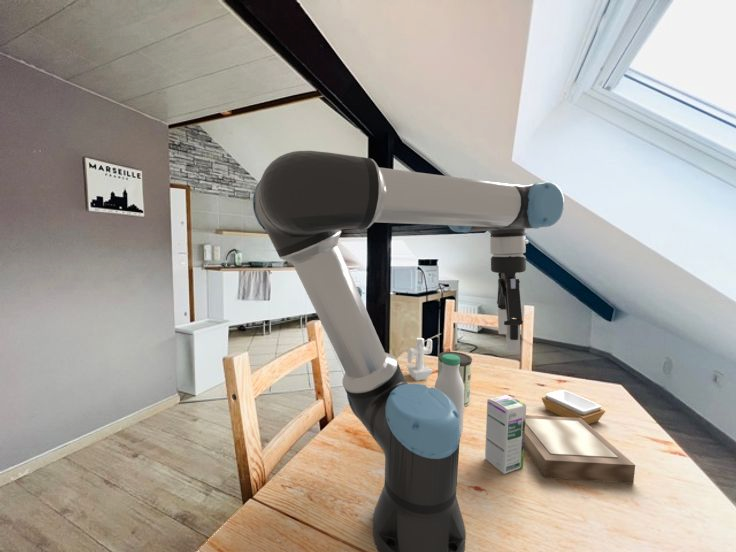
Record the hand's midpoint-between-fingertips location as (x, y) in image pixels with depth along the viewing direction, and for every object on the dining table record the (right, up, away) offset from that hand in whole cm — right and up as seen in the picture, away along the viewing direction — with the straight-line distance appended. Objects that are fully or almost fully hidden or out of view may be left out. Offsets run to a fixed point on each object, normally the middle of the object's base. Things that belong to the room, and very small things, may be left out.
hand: (508, 342), depth 76 cm
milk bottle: (-13, -25, +7) cm, 29 cm away
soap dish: (+26, -25, +16) cm, 39 cm away
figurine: (-15, -22, +40) cm, 48 cm away
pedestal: (+13, -26, -2) cm, 29 cm away
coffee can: (-7, -23, +23) cm, 34 cm away
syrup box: (-4, -26, -6) cm, 27 cm away
